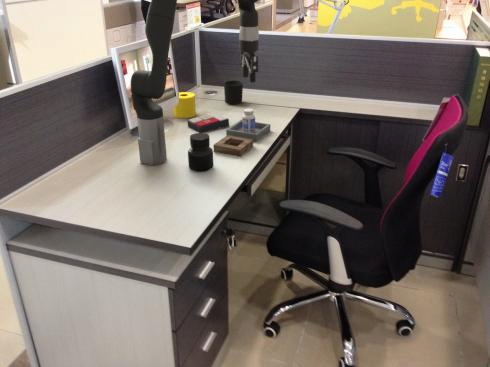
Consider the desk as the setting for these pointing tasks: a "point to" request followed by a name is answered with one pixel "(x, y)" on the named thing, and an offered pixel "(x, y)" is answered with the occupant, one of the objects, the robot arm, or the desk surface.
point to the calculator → (208, 122)
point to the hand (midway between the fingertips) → (248, 79)
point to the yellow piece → (185, 105)
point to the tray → (237, 131)
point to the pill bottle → (248, 121)
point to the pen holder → (233, 92)
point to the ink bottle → (200, 153)
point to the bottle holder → (233, 145)
